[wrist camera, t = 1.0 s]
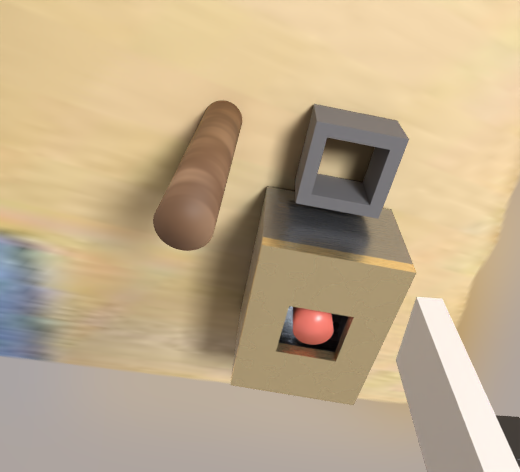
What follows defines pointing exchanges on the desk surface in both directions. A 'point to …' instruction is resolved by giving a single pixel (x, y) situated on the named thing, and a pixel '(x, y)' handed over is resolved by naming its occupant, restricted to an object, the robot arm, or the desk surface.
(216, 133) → the brown rounded rod
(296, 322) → the pink rubber ball
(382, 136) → the holder
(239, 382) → the hollow box
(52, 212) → the desk surface
